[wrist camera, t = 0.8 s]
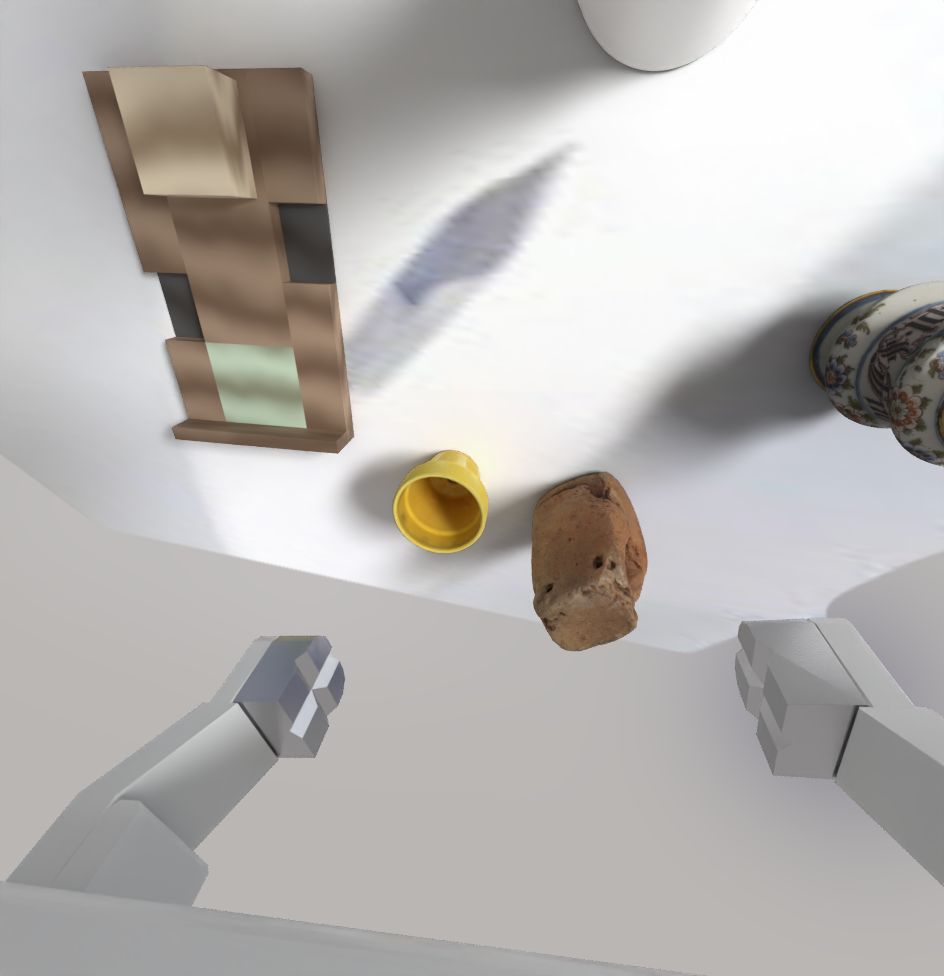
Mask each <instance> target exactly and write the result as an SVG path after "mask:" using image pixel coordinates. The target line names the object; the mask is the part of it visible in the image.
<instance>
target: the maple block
mask: <svg viewBox="0 0 944 976" xmlns="http://www.w3.org/2000/svg"><path fill="white" fill-rule="evenodd" d="M108 70H109V74H110V77H111V81H112V84H113V88H114V91H115V95H116V98H117V102H118V105H119V109H120V112H121V116H122V119H123V123H124V126H125V130H126V133H127V137H128V140H129V144H130V147H131V151H132V154H133V158H134V161H135V165H136V168H137V172H138V175H139V179H140V182H141V186H142V189H143V193H144V194H148V195H158V196H168V197H189V198H241V199H257V193H256V187H255V182H254V176H253V171H252V165H251V160H250V154H249V149H248V143H247V138H246V132H245V127H244V121H243V116H242V110H241V105H240V99H239V94H238V88H237V83H236V80H234V79H232V78H230V77H228V76H226V75H224V74H222V73H220V72H217V71H215V70H213V69H211V68H209V67H207V66H152V67H108Z"/></svg>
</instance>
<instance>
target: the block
mask: <svg viewBox="0 0 944 976" xmlns="http://www.w3.org/2000/svg"><path fill="white" fill-rule="evenodd" d="M532 541H533V544H532V559H531V563H532V582H533V589H534V593H535V597H534V601H533V605H534V609H535V611H536V613H537V615H538V616H539V617H540V618H541V620H542V622H543V624H544V626H545V628H546V630H547V632H548V633H549V635H550V636H551V638H552V640H553V641H554V642H555V643H557V644H558V645H559V646H560V647H561V648H562V649H564V650H567V651H582V650H585V649H588V648H592V647H595V646H597V645H602V644H607V643H610V642H612V641H615V640H618V639H620V638H622V637H624V636H625V635H627V634H629V633H630V632H631V631H633V630H634V629H635V628H636V626H637V620H638V616H637V613H636V611H635V609H634V606H635V602H636V601H637V600H638V599H639V597H640V593H641V590H642V585H643V581H644V576H645V574H646V571H647V552H646V547H645V543H644V539H643V535H642V532H641V528H640V525H639V522H638V519H637V516H636V513H635V511H634V508H633V506H632V504H631V501H630V499H629V497H628V495H627V494H626V492H625V490H624V488H623V487H622V486H621V484H620V483H619V482H618V481H617V480H616V479H615V478H614V477H613V476H612V475H611V474H609V473H607V472H601V473H598V474H592V475H588V476H582V477H579V478H576V479H574V480H571V481H569V482H566V483H564V484H562V485H560V486H558V487H556V488H555V489H553V490H551V491H550V492H549V493H547V494H546V495H544V496H543V497H542V498H541V499H540V500H539V501H538V503H537V504H536V509H535V512H534V517H533V525H532Z"/></svg>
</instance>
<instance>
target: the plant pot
mask: <svg viewBox="0 0 944 976" xmlns="http://www.w3.org/2000/svg"><path fill="white" fill-rule="evenodd" d="M452 480H453V481H452ZM487 514H488V496H487V492H486V489H485V487H484V485H483V484H482V482H481V480H480V474H479V470H478V467H477V465H476V463H475V462H474V461H473V460H472V459H471V458H470V457H469V456H468V455H466V454H464V453H462V452H459V451H452V450H449V451H443V452H440V453H438V454H436V455H435V456H434V457H433V458H432V459H430V460H429V461H428V462H425V463H422V464H420V465H418V466H416V467H415V468H413V469H412V470H411V471H410V472H409V473H408V474H407V475H406V477H405V478H404V480H403V481H402V483H401V484H400V486H399V488H398V490H397V492H396V494H395V497H394V501H393V516H394V519H395V522H396V525H397V527H398V528H399V530H400V531H401V533H402V534H403V535H404V536H405V537H406V538H407V539H408V540H409V541H410V542H412V543H413V544H414V545H416V546H418V547H420V548H422V549H425V550H427V551H431V552H435V553H454V552H458V551H461V550H464V549H466V548H468V547H469V546H471V545H472V544H474V543H475V542H476V541H477V540H478V539H479V537H480V536H481V534H482V532H483V530H484V527H485V524H486V519H487Z"/></svg>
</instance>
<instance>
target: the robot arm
mask: <svg viewBox="0 0 944 976" xmlns="http://www.w3.org/2000/svg"><path fill="white" fill-rule="evenodd" d="M577 1H578V3H579V6H580V9H581V11H582V14H583V17H584V19H585V21H586V23H587V26H588V28H589V29H590V31H591V33H592V35H593V36H594V38H595V39H596V41H597V42H598V43H599V44H600V46H601V47H602V48H603V49H604V50H605V51H606V52H607V53H608V54H609V55H611V56H612V57H613V58H615V59H616V60H617V61H619V62H621V63H623V64H625V65H627V66H629V67H632V68H635V69H640V70H646V71H663V70H669V69H673V68H677V67H680V66H683V65H686V64H688V63H691V62H693V61H695V60H697V59H698V58H700V57H702V56H703V55H705V54H707V53H708V52H710V51H711V50H712V49H714V48H715V47H716V46H718V45H719V44H720V43H721V42H722V41H723V40H725V39H726V38H727V37H728V36H729V35H730V34H731V33H732V32H733V31H734V30H735V29H736V28H737V26H738V25H739V24H740V23H741V22H742V21H743V19H744V18H745V17H746V16H747V14H748V13H749V12H750V10H751V9H752V7H753V6H754V5H755V3H756V2H757V0H577ZM738 638H739V641H740V642H741V645H742V647H743V648H742V649H741V650H740V651H739V652H738V653H737V654H736V660H735V670H736V678H737V684H738V687H739V691H740V694H741V697H742V700H743V702H744V705H745V708H746V710H747V711H749V712H750V713H751V714H752V715H754V716H755V717H756V718H757V719H758V727H757V734H756V735H757V737H758V740H759V742H760V745H761V747H762V750H763V752H764V754H765V757H766V759H767V761H768V764H769V766H770V769H771V771H772V774H773V775H775V776H776V775H777V776H791V777H806V778H822V779H835V783H836V784H837V785H838V786H839V787H840V788H841V789H842V790H843V791H844V792H845V793H846V794H847V795H848V796H849V797H850V798H852V800H854V801H855V802H856V803H857V804H858V805H859V806H860V807H861V808H862V809H863V810H864V811H865V812H866V813H867V814H868V815H869V816H870V817H871V818H872V819H873V820H874V821H875V822H877V823H878V824H879V825H880V826H881V827H882V828H883V829H884V830H885V831H886V832H887V833H888V834H889V835H890V836H891V837H892V838H893V839H894V840H895V841H896V842H897V843H899V844H900V845H901V846H902V847H903V848H904V849H905V850H906V851H907V852H908V853H909V854H910V855H911V856H912V857H913V858H914V859H915V860H916V861H917V862H918V863H919V864H920V865H922V866H923V867H924V868H925V869H926V870H927V871H928V872H929V873H930V874H931V875H932V876H933V877H934V878H935V879H936V880H937V881H938V882H939V883H940V884H941V885H943V886H944V717H942V716H941V715H939V714H937V713H936V712H934V711H932V710H931V709H929V708H923V707H915V706H914V705H913V704H912V702H911V701H910V700H909V698H908V697H907V696H906V694H905V693H904V692H903V691H902V689H901V688H900V687H899V685H898V684H897V683H896V681H895V680H894V679H893V677H892V676H891V675H890V673H889V672H888V671H887V670H886V668H885V667H884V666H883V664H882V663H881V662H880V660H879V659H878V658H877V656H876V655H875V654H874V653H873V651H872V650H871V649H870V647H869V646H868V645H867V643H866V642H865V641H864V639H863V638H862V637H861V636H860V634H859V633H858V632H857V630H856V629H855V628H854V626H853V625H852V624H851V622H849V621H848V620H846V619H844V618H816V619H807V620H806V619H785V620H762V621H742V622H741V624H740V626H739V631H738ZM331 648H332V646H331V645H330V643H329V641H328V639H327V638H326V637H325V636H261V637H259V638H258V639H257V640H255V641H253V642H252V644H251V645H250V647H249V648H248V649H247V651H246V652H245V654H244V655H243V656H242V658H241V659H240V661H239V662H238V663H237V665H236V666H235V668H234V669H233V670H232V672H231V673H230V675H229V676H228V677H227V679H226V680H225V682H224V683H223V684H222V686H221V687H220V689H219V690H218V691H217V693H216V694H215V696H214V697H213V699H212V700H211V701H210V703H202V704H201V705H200V706H198V707H197V708H195V709H194V710H193V711H191V712H190V713H188V714H187V715H186V716H184V717H183V718H182V719H180V720H179V721H177V722H176V723H175V724H173V725H172V726H171V727H169V728H168V729H166V730H165V731H164V732H162V733H161V734H160V735H158V736H157V737H155V738H154V739H153V740H151V741H150V742H148V743H147V744H146V745H144V746H143V747H142V748H140V749H139V750H137V751H136V752H135V753H133V754H132V755H131V756H129V757H128V758H127V759H125V760H124V761H123V762H121V763H120V764H118V765H117V766H115V767H114V768H113V769H111V770H110V771H109V772H107V773H106V774H104V775H103V776H102V777H100V778H99V779H97V780H96V781H95V782H93V783H92V784H91V785H89V786H88V787H87V788H85V789H84V790H82V791H81V792H80V793H78V794H77V795H76V796H75V798H74V799H73V800H72V801H71V803H70V804H69V805H68V806H67V807H66V809H65V810H64V811H63V812H62V813H61V815H60V816H59V817H58V818H57V819H56V821H55V822H54V823H53V824H52V826H51V827H50V828H49V829H48V830H47V832H46V833H45V834H44V835H43V836H42V838H41V839H40V840H39V841H38V842H37V844H36V845H35V846H34V847H33V848H32V850H31V851H30V852H29V853H28V854H27V856H26V857H25V858H24V859H23V861H22V862H21V863H20V864H19V866H18V867H17V868H16V869H15V870H14V872H13V873H12V874H11V875H10V876H9V878H8V879H7V880H6V881H5V882H4V881H0V976H705V975H697V974H690V973H682V972H674V971H667V970H660V969H653V968H645V967H637V966H630V965H623V964H615V963H608V962H600V961H593V960H585V959H578V958H570V957H563V956H556V955H548V954H540V953H533V952H526V951H518V950H511V949H503V948H496V947H489V946H481V945H474V944H466V943H459V942H451V941H444V940H436V939H428V938H422V937H414V936H407V935H399V934H391V933H384V932H377V931H369V930H362V929H354V928H347V927H340V926H331V925H324V924H317V923H309V922H302V921H295V920H287V919H280V918H272V917H265V916H258V915H249V914H243V913H235V912H228V911H219V910H213V909H206V908H197V907H191V906H192V904H193V902H194V901H195V899H196V897H197V895H198V893H199V891H200V889H201V887H202V885H203V883H204V881H205V879H206V877H207V875H208V865H207V864H206V863H205V862H204V861H203V860H202V859H201V858H200V857H199V856H198V855H197V854H196V853H195V852H194V849H195V848H196V847H197V846H198V845H199V844H200V843H201V842H202V841H203V840H204V839H205V838H206V837H207V835H209V834H210V832H211V831H212V830H213V829H214V828H215V827H216V826H217V825H218V824H219V823H220V822H221V821H222V820H223V818H225V816H226V815H227V814H228V813H229V812H230V811H231V810H232V809H233V808H234V807H235V806H236V805H237V804H238V803H239V802H240V801H241V799H242V798H243V797H244V796H245V795H246V794H247V793H248V792H249V791H250V790H251V789H252V788H253V786H255V785H256V784H257V782H258V781H259V780H260V779H261V778H262V777H263V776H264V775H265V774H266V773H267V772H268V771H269V769H270V768H272V766H273V765H274V764H275V763H276V762H277V761H278V758H315V757H316V754H317V752H318V750H319V747H320V745H321V743H322V741H323V738H324V736H325V734H326V731H327V729H328V727H329V724H328V719H327V715H328V714H329V713H331V712H332V711H333V710H334V709H335V708H336V707H337V706H338V704H339V702H340V699H341V697H342V694H343V689H344V682H345V677H344V671H343V668H342V666H341V664H340V662H339V661H338V660H337V659H336V658H334V657H332V656H331V655H330V651H331Z"/></svg>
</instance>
